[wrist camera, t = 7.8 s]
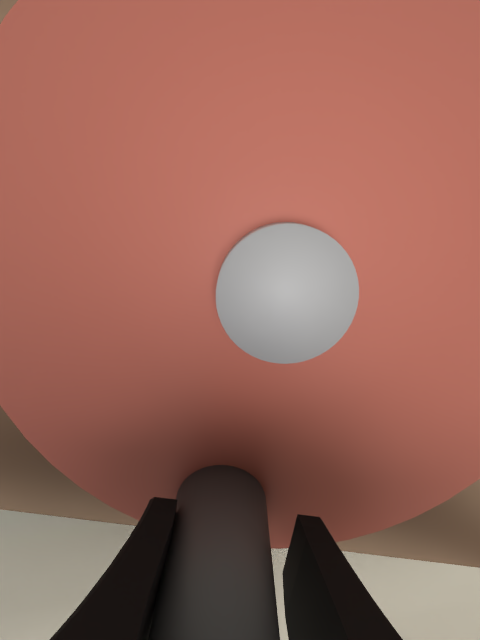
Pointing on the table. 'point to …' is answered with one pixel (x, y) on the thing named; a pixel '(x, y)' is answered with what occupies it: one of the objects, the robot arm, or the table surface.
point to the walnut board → (73, 502)
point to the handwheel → (243, 271)
